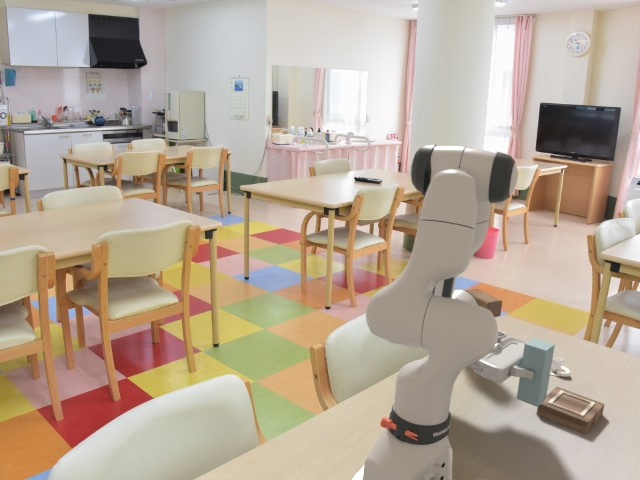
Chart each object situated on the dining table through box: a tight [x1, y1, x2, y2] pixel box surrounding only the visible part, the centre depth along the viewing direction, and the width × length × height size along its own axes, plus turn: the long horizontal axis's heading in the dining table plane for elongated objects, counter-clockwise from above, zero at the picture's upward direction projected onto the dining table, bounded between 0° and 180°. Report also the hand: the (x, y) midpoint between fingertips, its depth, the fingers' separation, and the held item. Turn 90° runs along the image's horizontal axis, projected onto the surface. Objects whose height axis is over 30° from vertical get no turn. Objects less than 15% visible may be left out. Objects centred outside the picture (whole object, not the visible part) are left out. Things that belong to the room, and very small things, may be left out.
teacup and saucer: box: [550, 355, 572, 378], centre depth 172 cm, size 9×8×4 cm
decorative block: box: [465, 288, 503, 318], centre depth 175 cm, size 11×6×20 cm, turn 25°
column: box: [516, 337, 556, 408], centre depth 138 cm, size 5×5×14 cm
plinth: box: [536, 386, 605, 435], centre depth 149 cm, size 12×12×3 cm
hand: (539, 371), depth 138 cm, fingers closed on column, 5 cm apart
